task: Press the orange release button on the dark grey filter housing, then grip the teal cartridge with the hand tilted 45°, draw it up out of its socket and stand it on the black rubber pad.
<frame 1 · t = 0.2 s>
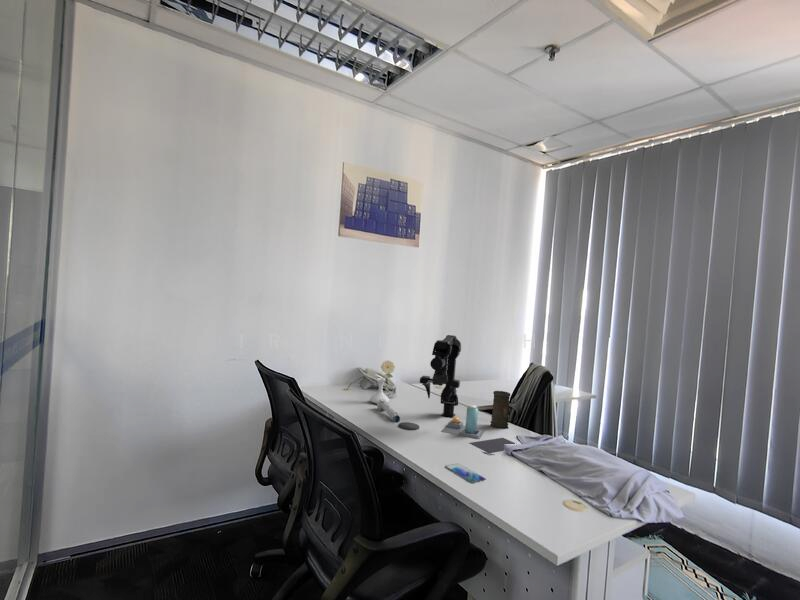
hand: (438, 399, 201), 14 cm above the table, tool pointing down, fingers open, 9 cm apart
white tube: (387, 416, 217), on the table
pad: (408, 426, 200), on the table
housing: (463, 432, 198), on the table
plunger: (455, 420, 204), point 4 cm above the table, slide at 0.0 cm
smartphone: (464, 474, 151), on the table
container: (499, 428, 210), on the table
cartridge: (470, 434, 194), point 1 cm above the table, touching housing
flower in vase: (380, 403, 241), on the table
notebook: (496, 449, 181), on the table
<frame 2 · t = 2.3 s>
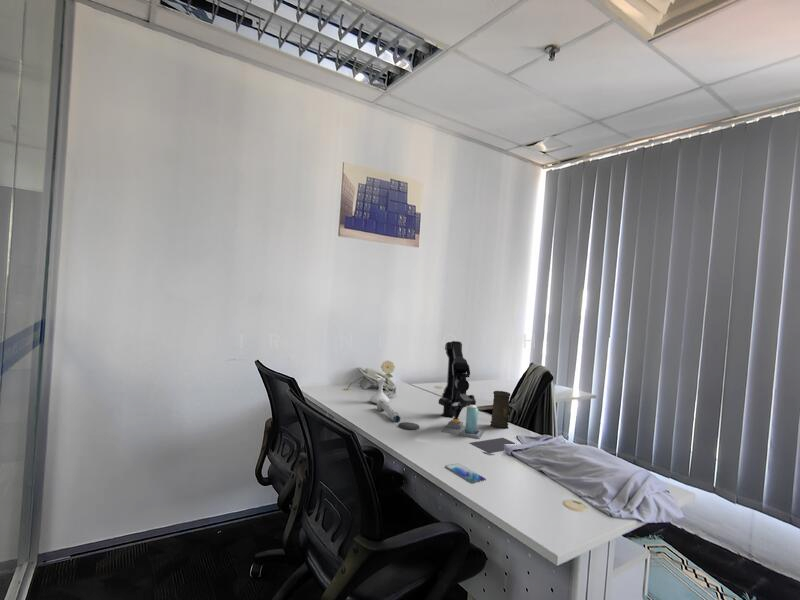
hand: (456, 418, 204), 5 cm above the table, tool pointing down, fingers closed, pressing on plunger
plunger: (455, 421, 204), point 3 cm above the table, slide at 0.4 cm, touching gripper
everything else where it was.
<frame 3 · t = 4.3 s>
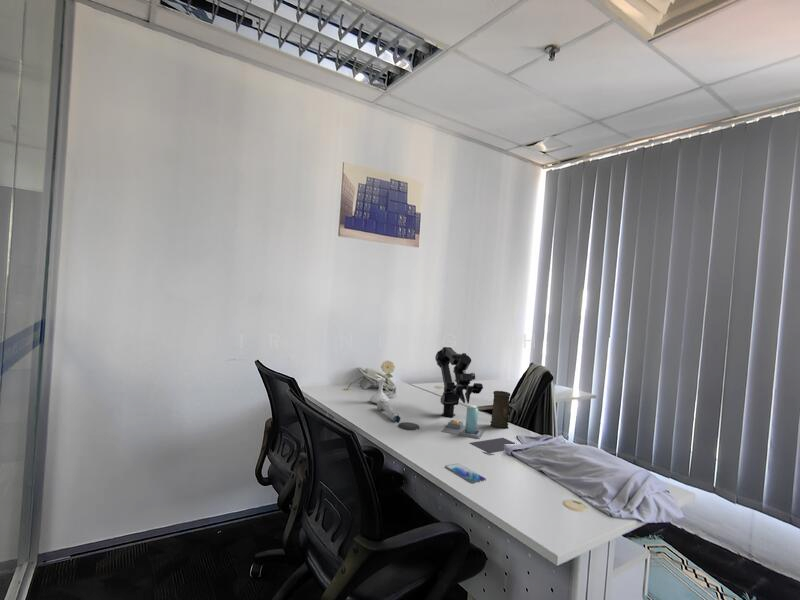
hand: (466, 403, 201), 13 cm above the table, tool tilted 45°, fingers closed
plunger: (455, 423, 204), point 2 cm above the table, slide at 1.4 cm
everything else where it was.
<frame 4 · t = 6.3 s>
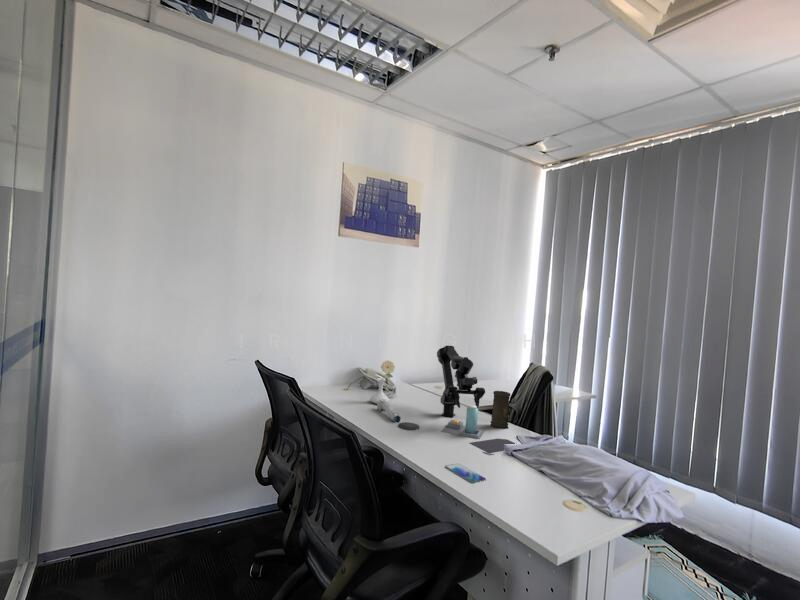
hand: (468, 407, 198), 12 cm above the table, tool tilted 45°, fingers open, 9 cm apart
nothing on the table moved.
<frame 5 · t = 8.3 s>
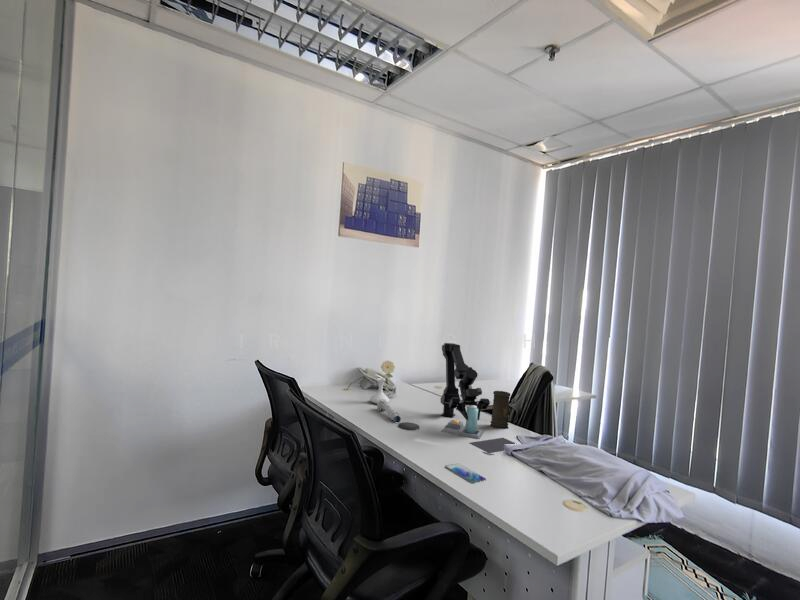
hand: (472, 419, 192), 8 cm above the table, tool tilted 45°, fingers closed on cartridge, 5 cm apart
cartridge: (470, 434, 194), point 1 cm above the table, touching gripper, housing
everything else where it was.
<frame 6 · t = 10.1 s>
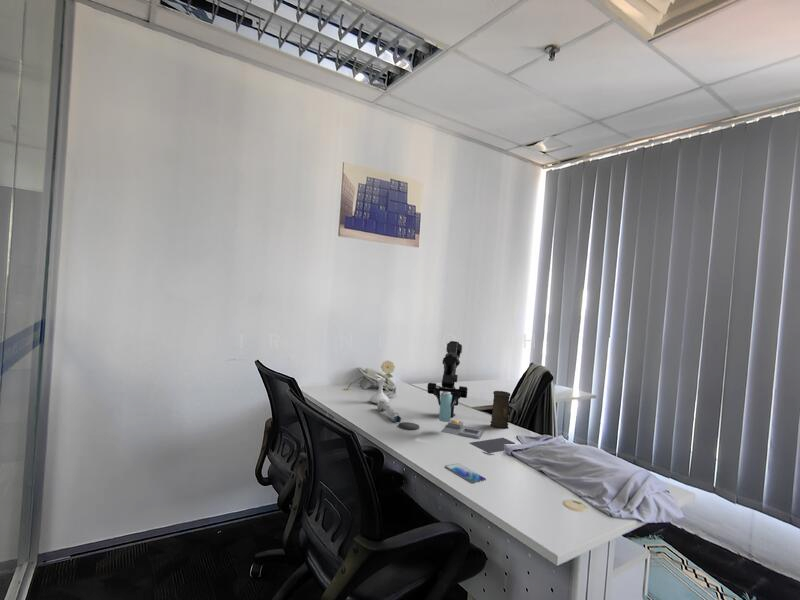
hand: (445, 405, 192), 13 cm above the table, tool tilted 45°, fingers closed on cartridge, 5 cm apart
cartridge: (444, 420, 194), point 6 cm above the table, touching gripper
everything else where it was.
when the fingers open (9 cm above the table, at t = 12.3 s): cartridge drops 1 cm, resting on pad.
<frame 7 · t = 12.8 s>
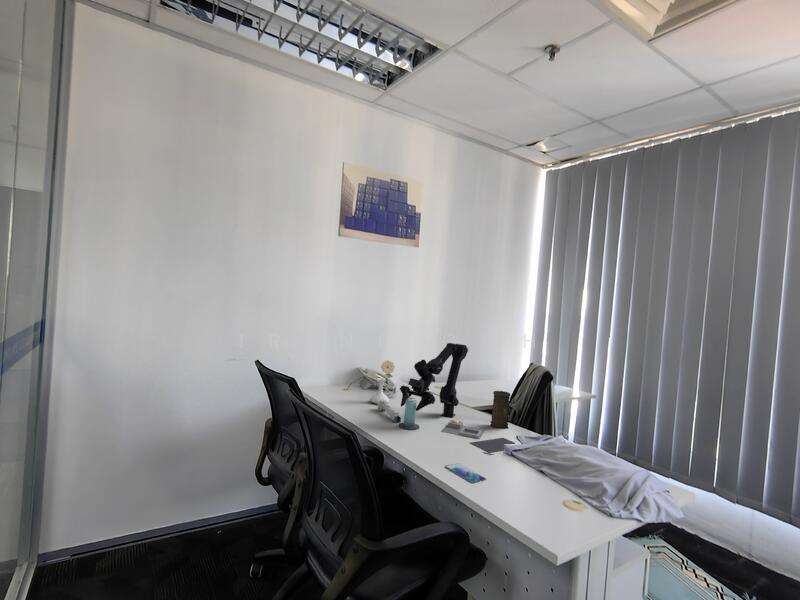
hand: (408, 408, 199), 9 cm above the table, tool tilted 45°, fingers open, 9 cm apart
cartridge: (408, 425, 200), point 1 cm above the table, touching pad
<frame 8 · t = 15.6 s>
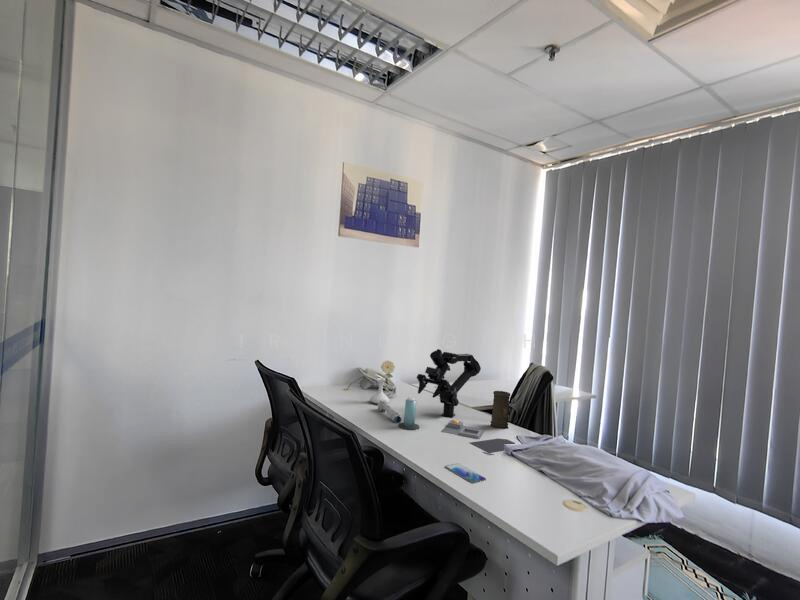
hand: (425, 395, 210), 14 cm above the table, tool tilted 45°, fingers open, 9 cm apart
at the end: cartridge inside the target area on the pad (0.0 cm from its centre), point 0.6 cm above the pad's base; cartridge tilted 0°; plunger slide at 1.4 cm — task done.
